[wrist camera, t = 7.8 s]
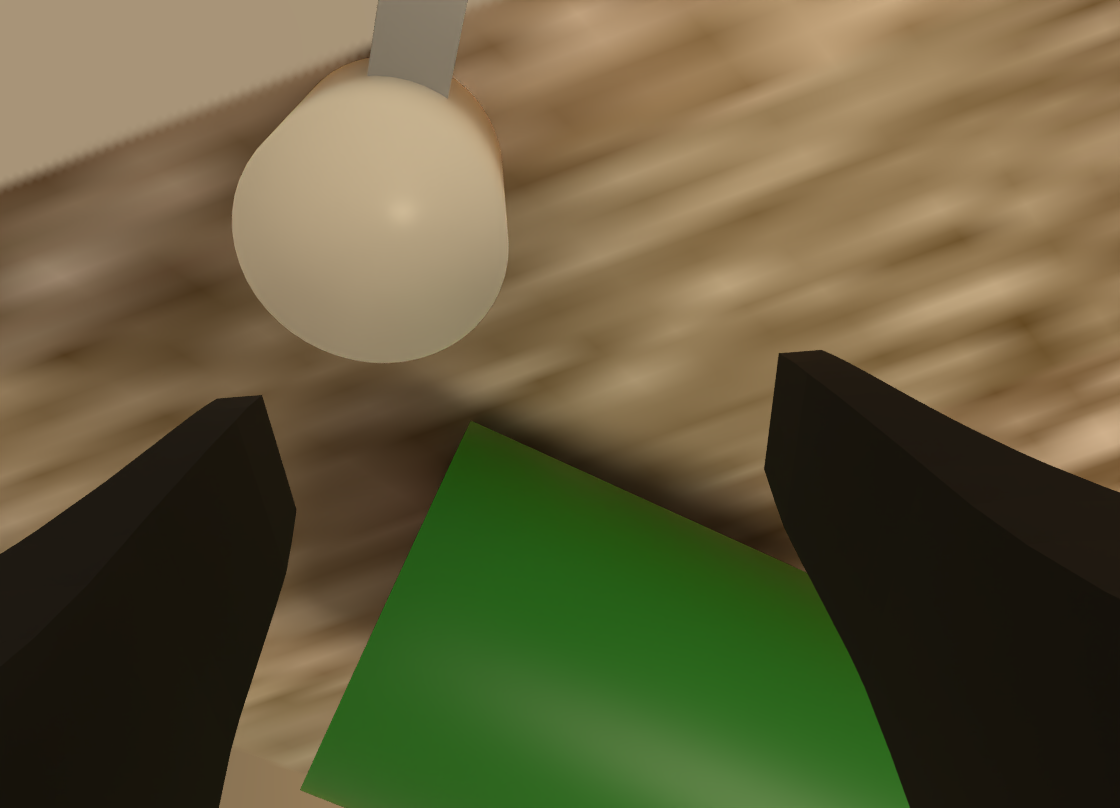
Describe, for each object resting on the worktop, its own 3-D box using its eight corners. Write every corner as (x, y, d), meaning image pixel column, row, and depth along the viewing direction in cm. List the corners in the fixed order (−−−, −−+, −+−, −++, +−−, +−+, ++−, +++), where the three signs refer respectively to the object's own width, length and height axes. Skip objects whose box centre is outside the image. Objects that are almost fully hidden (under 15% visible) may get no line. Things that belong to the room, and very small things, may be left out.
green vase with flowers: (363, 653, 26) (883, 876, 27) (247, 887, 17) (1014, 1192, 19) (485, 390, 23) (1053, 654, 25) (419, 511, 15) (1298, 904, 16)
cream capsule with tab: (546, 7, 17) (567, 40, 13) (476, 285, 20) (475, 384, 16) (312, -67, 16) (251, -58, 12) (279, 240, 19) (223, 334, 15)
